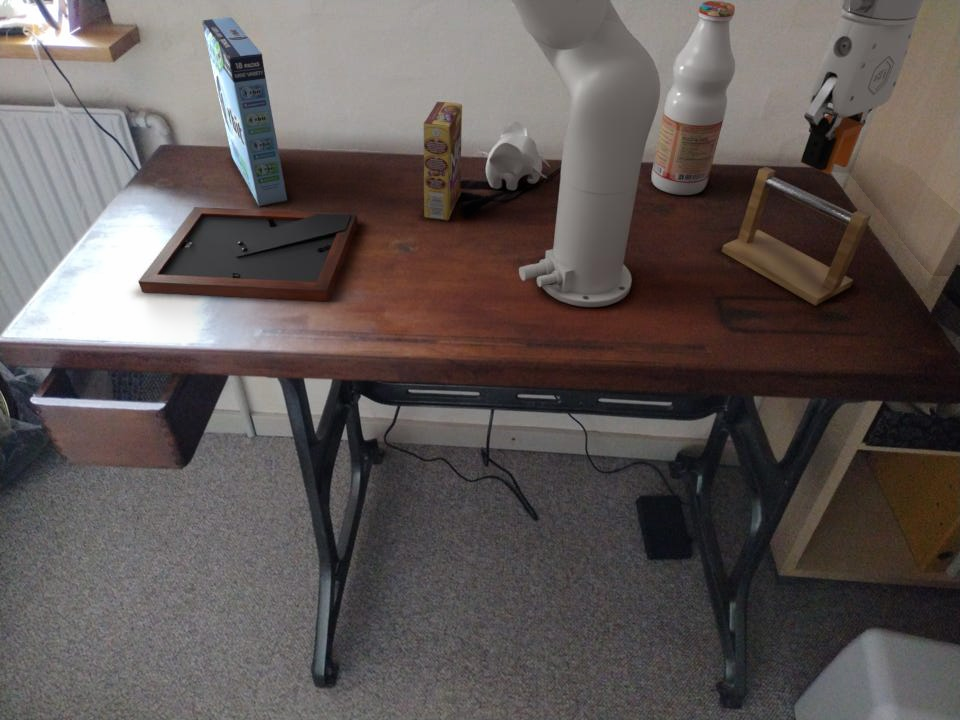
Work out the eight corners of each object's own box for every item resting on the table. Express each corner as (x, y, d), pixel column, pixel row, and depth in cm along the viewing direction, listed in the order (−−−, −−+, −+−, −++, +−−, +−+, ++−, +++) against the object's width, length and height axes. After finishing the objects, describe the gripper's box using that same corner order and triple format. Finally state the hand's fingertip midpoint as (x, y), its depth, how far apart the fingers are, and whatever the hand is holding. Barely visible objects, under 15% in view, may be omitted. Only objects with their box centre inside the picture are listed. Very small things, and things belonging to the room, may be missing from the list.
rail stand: (815, 306, 91) (849, 225, 83) (721, 251, 101) (743, 174, 93) (850, 287, 95) (886, 207, 87) (756, 236, 105) (780, 160, 96)
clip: (827, 174, 84) (843, 130, 81) (800, 162, 87) (814, 119, 83) (847, 166, 86) (864, 123, 82) (819, 154, 88) (834, 112, 85)
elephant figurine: (544, 200, 112) (548, 148, 106) (472, 192, 114) (473, 140, 108) (552, 174, 119) (556, 124, 113) (484, 167, 121) (485, 117, 115)
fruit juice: (639, 182, 117) (671, 3, 99) (670, 166, 122) (707, -7, 104) (685, 202, 112) (729, 17, 94) (716, 184, 117) (764, 5, 99)
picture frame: (357, 224, 105) (197, 217, 106) (356, 212, 104) (194, 205, 105) (328, 301, 90) (142, 292, 91) (326, 288, 89) (137, 279, 90)
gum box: (232, 158, 122) (199, 19, 106) (261, 153, 123) (232, 16, 108) (258, 207, 109) (225, 57, 94) (290, 201, 110) (262, 52, 95)
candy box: (451, 222, 106) (449, 125, 96) (424, 218, 107) (420, 123, 97) (462, 195, 113) (462, 102, 103) (437, 192, 113) (434, 100, 103)
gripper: (868, 21, 68) (808, 190, 80) (958, -2, 75) (890, 156, 87) (804, 4, 73) (756, 166, 85) (894, -16, 80) (838, 136, 92)
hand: (825, 159), depth 86 cm, fingers closed on clip, 4 cm apart
